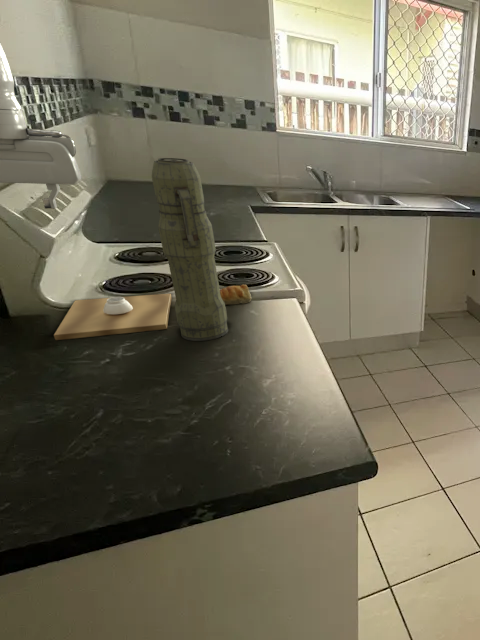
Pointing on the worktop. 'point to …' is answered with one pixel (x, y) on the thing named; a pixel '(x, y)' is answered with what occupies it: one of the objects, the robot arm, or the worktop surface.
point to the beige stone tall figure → (189, 249)
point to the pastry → (235, 295)
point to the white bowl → (117, 306)
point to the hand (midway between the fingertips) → (17, 208)
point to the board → (115, 317)
